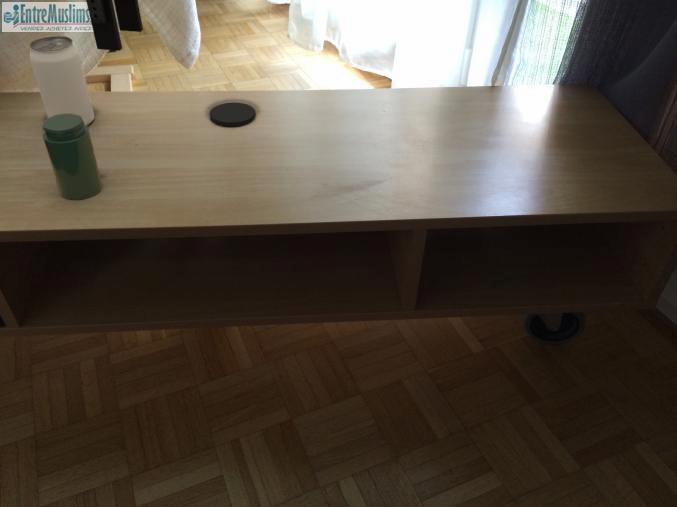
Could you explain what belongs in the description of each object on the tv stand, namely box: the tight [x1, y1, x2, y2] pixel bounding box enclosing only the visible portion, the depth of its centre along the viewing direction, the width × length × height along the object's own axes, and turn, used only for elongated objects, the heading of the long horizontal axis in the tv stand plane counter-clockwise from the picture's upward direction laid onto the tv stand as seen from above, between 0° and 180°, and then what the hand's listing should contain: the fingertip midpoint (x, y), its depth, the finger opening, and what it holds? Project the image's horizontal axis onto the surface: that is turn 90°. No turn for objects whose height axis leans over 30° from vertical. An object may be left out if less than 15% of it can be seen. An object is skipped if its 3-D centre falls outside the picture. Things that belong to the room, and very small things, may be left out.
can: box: [29, 35, 95, 127], centre depth 89 cm, size 6×6×12 cm
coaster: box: [209, 101, 256, 128], centre depth 95 cm, size 7×7×1 cm
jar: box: [42, 114, 103, 201], centre depth 75 cm, size 5×5×9 cm
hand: (120, 38), depth 74 cm, fingers closed on jar lid, 6 cm apart
